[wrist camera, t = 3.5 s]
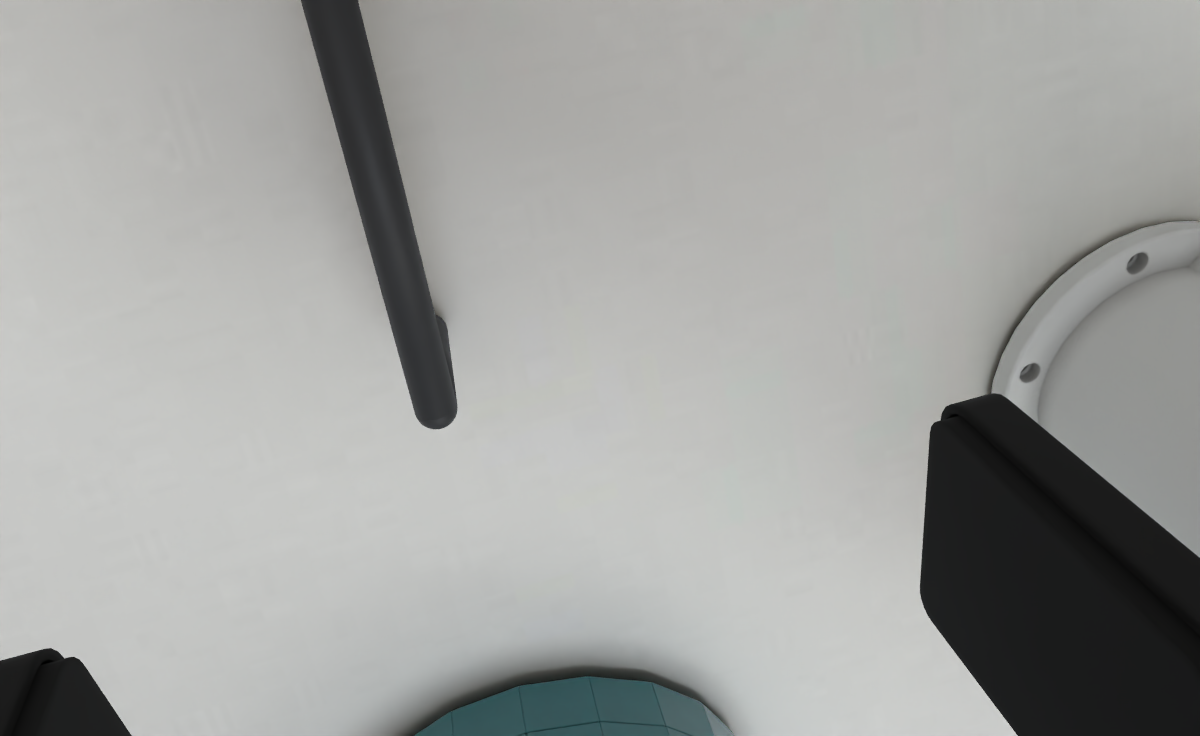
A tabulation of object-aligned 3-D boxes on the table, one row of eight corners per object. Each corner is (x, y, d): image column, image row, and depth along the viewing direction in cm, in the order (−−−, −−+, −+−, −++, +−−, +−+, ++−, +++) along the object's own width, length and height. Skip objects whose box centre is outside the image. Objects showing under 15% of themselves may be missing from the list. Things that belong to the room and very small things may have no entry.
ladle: (111, -480, 19) (8, -611, 14) (333, -501, 20) (313, -635, 15) (362, 353, 30) (356, 455, 25) (501, 324, 30) (525, 418, 25)
